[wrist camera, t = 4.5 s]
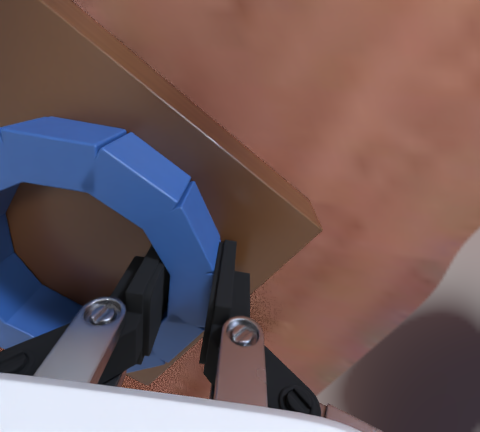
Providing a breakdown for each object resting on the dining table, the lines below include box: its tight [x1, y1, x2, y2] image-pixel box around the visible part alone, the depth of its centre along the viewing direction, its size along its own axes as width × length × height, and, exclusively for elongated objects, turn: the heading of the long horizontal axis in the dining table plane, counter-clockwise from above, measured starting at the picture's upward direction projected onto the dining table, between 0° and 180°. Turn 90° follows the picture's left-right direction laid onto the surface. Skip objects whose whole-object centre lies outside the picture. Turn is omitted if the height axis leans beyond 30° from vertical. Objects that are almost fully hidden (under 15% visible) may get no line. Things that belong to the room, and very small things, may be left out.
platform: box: [0, 0, 323, 385], centre depth 14 cm, size 14×14×3 cm
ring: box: [0, 116, 221, 373], centre depth 12 cm, size 11×11×2 cm
